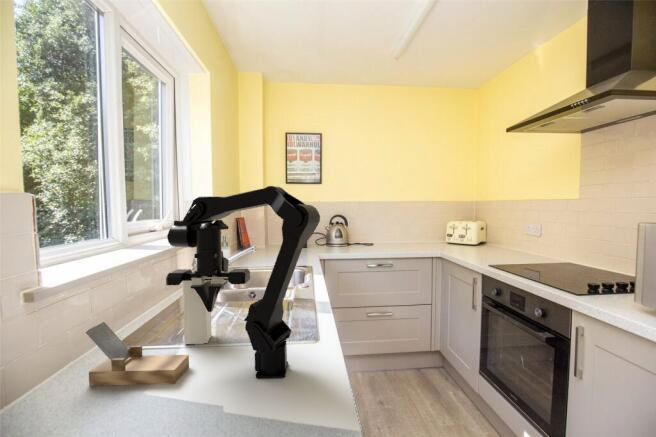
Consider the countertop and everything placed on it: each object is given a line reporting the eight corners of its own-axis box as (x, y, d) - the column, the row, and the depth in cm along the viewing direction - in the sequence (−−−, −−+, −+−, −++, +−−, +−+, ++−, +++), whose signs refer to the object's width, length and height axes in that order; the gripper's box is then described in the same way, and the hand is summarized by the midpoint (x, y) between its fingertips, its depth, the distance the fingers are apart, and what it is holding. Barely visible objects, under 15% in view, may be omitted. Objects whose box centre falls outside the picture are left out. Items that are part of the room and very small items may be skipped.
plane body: (189, 367, 73) (188, 344, 73) (174, 383, 66) (174, 358, 66) (111, 368, 72) (111, 346, 72) (89, 385, 65) (88, 360, 65)
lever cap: (133, 354, 71) (104, 321, 71) (120, 364, 67) (88, 329, 66) (127, 359, 71) (98, 326, 71) (114, 369, 67) (82, 334, 66)
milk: (211, 335, 92) (210, 261, 91) (206, 344, 86) (205, 264, 85) (189, 336, 91) (188, 261, 90) (183, 345, 85) (182, 265, 84)
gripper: (254, 244, 84) (255, 301, 84) (185, 245, 83) (186, 302, 84) (244, 249, 73) (245, 315, 73) (164, 250, 72) (165, 316, 73)
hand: (210, 311), depth 76 cm, fingers closed
